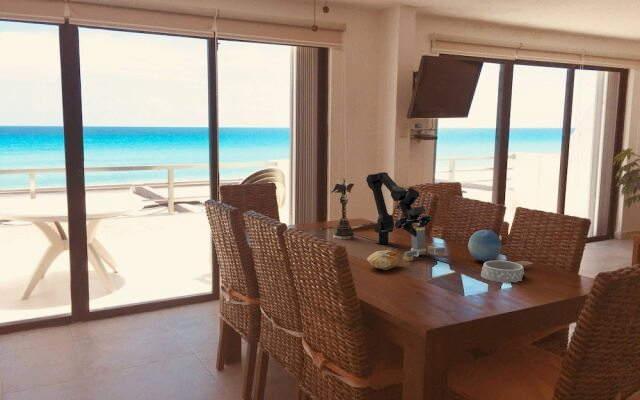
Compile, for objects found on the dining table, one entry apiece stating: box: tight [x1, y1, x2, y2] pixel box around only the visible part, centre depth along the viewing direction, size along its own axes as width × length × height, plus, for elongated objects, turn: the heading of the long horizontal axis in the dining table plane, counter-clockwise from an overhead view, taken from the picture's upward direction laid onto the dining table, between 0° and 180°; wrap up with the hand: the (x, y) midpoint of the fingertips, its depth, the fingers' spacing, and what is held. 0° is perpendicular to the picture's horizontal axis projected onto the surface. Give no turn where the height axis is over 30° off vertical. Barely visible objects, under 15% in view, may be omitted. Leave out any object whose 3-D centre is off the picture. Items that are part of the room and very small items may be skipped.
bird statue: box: [330, 177, 355, 240], centre depth 314 cm, size 17×13×35 cm
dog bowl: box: [480, 260, 526, 284], centre depth 235 cm, size 17×18×5 cm
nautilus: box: [367, 249, 410, 271], centre depth 247 cm, size 8×21×15 cm
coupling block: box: [410, 226, 427, 255], centre depth 270 cm, size 5×5×13 cm
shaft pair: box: [402, 245, 447, 262], centre depth 267 cm, size 6×23×5 cm, turn 116°
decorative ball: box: [467, 229, 502, 263], centre depth 259 cm, size 15×15×15 cm
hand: (420, 236), depth 269 cm, fingers closed on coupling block, 5 cm apart
